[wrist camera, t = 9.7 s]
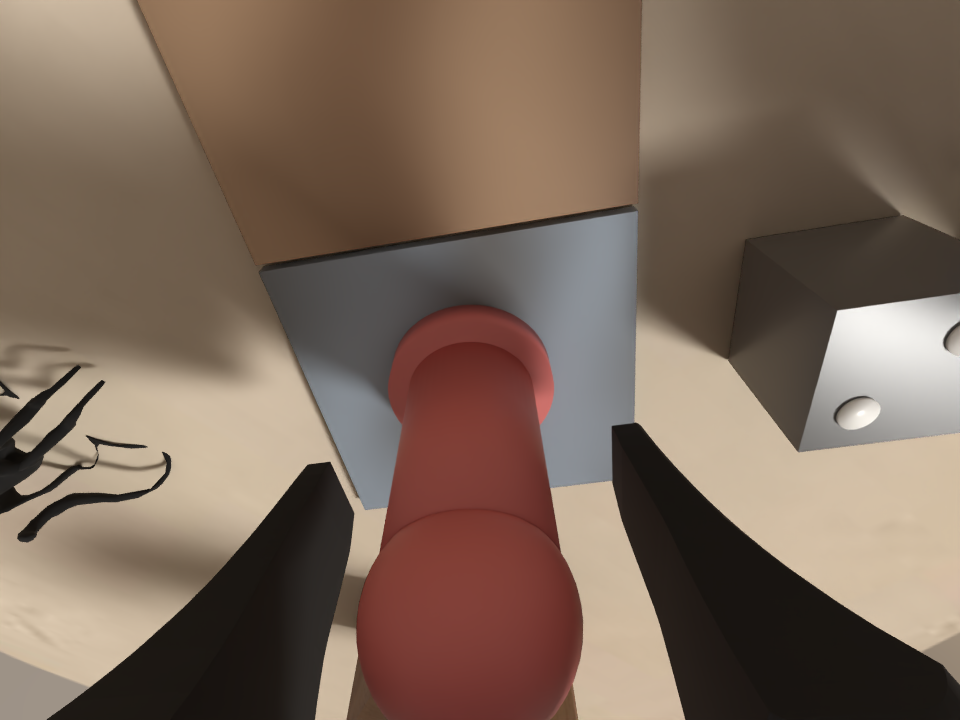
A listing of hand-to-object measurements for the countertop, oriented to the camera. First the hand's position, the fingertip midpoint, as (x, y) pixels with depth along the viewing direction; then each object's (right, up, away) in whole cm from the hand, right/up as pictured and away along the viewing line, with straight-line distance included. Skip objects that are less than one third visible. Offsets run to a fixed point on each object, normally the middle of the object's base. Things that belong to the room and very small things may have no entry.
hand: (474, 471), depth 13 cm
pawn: (0, +2, +2) cm, 3 cm away
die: (+10, +5, +1) cm, 11 cm away
